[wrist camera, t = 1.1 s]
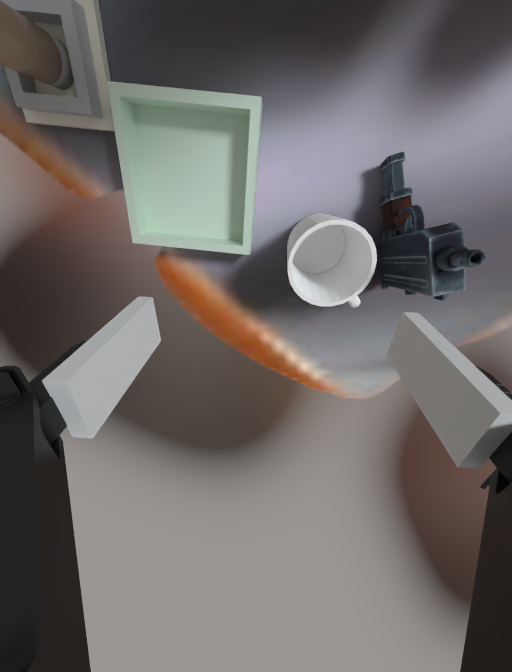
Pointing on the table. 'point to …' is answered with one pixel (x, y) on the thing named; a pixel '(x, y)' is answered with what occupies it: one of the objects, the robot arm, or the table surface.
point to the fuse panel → (86, 62)
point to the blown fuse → (33, 50)
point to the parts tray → (188, 165)
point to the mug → (330, 260)
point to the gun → (419, 243)
